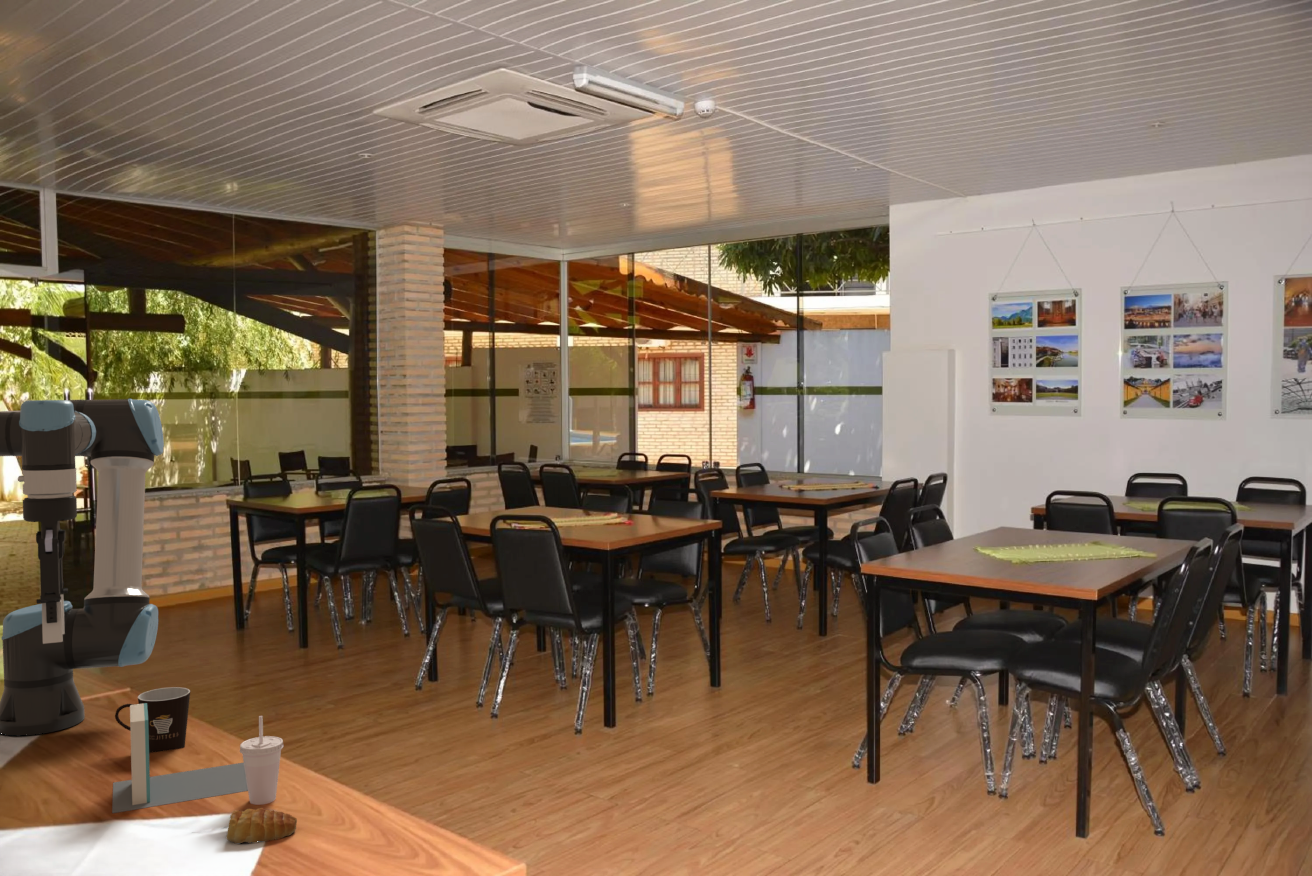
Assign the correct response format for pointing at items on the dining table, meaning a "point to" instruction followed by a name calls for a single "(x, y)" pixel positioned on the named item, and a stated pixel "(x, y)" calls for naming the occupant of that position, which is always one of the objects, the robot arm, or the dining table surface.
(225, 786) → the mat
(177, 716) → the coffee mug
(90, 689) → the dining table surface
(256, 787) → the smoothie
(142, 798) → the tile
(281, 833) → the pastry
